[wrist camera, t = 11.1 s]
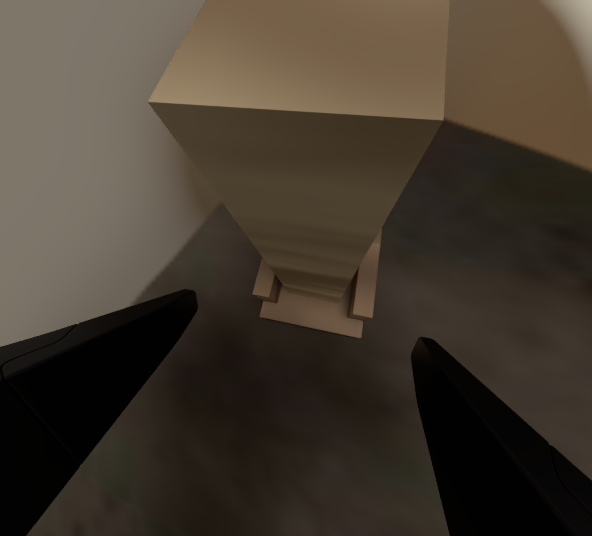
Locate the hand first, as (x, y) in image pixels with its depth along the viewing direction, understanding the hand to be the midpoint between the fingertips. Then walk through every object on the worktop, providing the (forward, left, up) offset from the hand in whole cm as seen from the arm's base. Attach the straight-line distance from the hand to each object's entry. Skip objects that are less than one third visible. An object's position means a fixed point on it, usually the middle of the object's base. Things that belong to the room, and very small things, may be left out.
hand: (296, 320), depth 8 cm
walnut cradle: (+3, +2, -10) cm, 10 cm away
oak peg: (+4, +2, -8) cm, 9 cm away
